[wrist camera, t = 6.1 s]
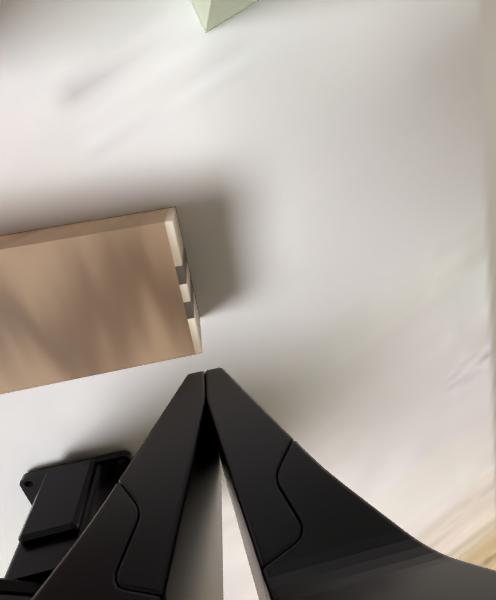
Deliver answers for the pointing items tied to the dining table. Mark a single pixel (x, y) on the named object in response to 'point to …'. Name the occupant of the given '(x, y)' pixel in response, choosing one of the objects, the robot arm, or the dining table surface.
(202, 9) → the sage block
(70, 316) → the walnut block
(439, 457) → the dining table surface
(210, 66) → the dining table surface
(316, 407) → the dining table surface
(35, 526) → the robot arm
